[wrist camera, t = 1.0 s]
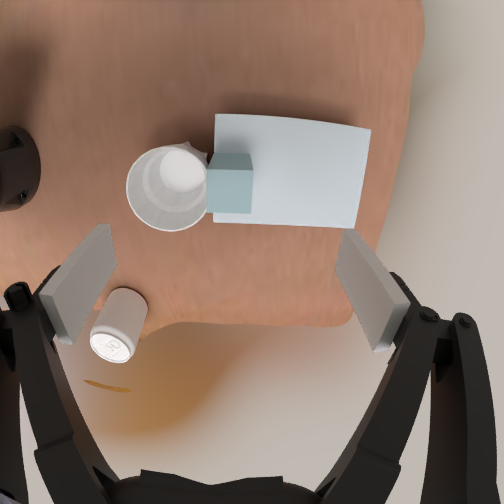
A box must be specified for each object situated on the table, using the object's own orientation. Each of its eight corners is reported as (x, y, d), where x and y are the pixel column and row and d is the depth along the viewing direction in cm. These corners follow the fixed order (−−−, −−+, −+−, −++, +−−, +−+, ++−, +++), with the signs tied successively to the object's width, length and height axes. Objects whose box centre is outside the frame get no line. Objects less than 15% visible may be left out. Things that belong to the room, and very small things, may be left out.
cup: (138, 180, 39) (113, 204, 31) (172, 122, 36) (152, 130, 27) (194, 214, 43) (183, 245, 34) (231, 159, 39) (229, 177, 30)
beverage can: (102, 298, 50) (79, 342, 39) (125, 278, 48) (103, 324, 37) (131, 324, 53) (115, 369, 43) (157, 307, 51) (142, 355, 41)
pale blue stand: (213, 219, 36) (207, 255, 28) (216, 113, 29) (207, 117, 21) (351, 225, 37) (378, 260, 29) (367, 128, 30) (405, 140, 23)
